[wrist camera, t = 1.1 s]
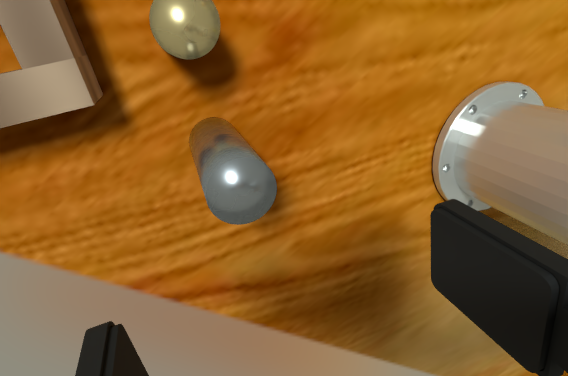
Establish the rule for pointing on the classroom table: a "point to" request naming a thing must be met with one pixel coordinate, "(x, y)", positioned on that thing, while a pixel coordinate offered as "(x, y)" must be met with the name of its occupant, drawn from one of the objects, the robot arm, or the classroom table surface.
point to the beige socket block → (44, 63)
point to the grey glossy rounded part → (185, 26)
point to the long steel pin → (231, 172)
